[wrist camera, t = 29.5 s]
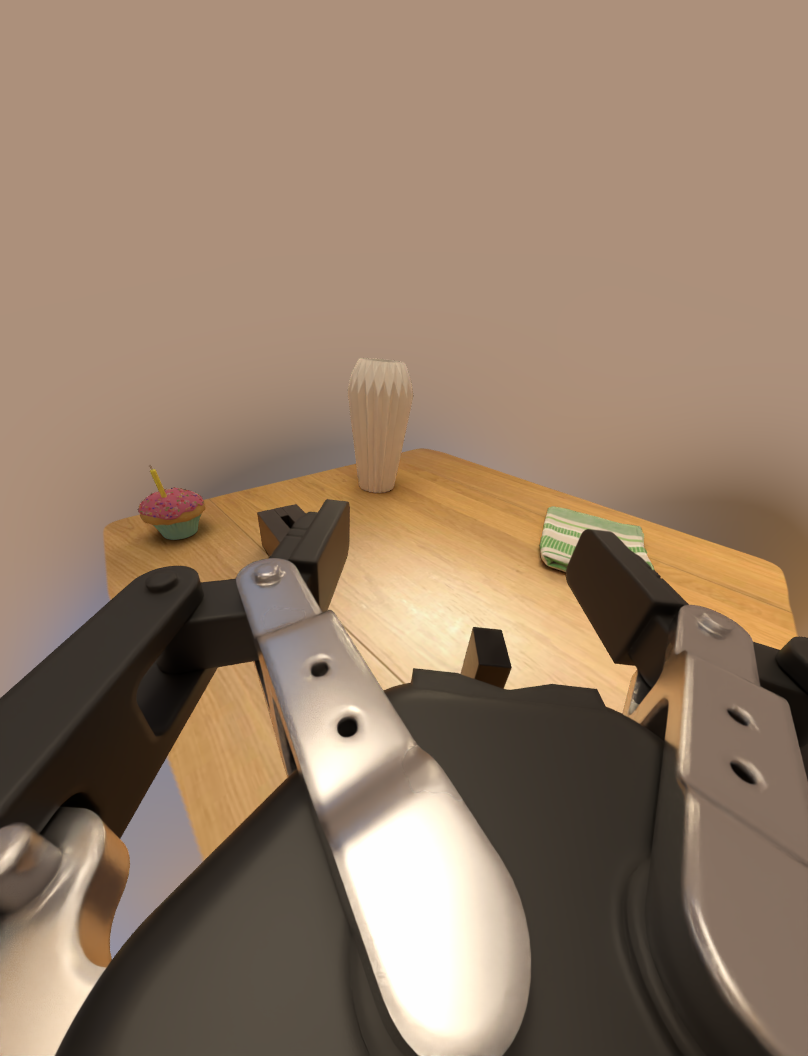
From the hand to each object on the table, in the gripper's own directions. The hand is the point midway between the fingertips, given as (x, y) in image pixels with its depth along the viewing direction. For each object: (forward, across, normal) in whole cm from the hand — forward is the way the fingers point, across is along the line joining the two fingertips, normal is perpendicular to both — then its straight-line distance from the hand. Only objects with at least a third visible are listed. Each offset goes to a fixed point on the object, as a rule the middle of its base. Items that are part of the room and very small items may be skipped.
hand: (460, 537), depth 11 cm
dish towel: (+41, -32, +24) cm, 57 cm away
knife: (+2, -3, +22) cm, 23 cm away
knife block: (+30, +19, +24) cm, 43 cm away
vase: (+60, +10, +24) cm, 66 cm away
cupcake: (+33, +38, +25) cm, 56 cm away
